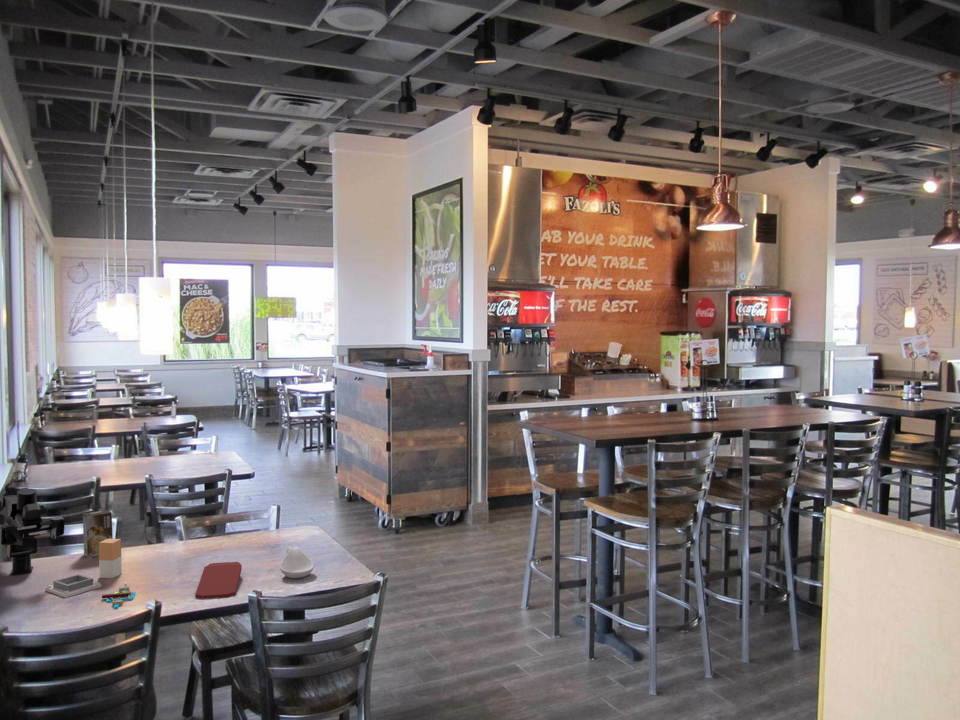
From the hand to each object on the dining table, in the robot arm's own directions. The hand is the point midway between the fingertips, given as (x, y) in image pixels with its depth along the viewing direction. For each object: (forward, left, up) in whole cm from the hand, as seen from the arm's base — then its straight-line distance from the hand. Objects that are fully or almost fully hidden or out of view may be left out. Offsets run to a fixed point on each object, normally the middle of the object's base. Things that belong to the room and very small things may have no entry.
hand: (39, 540), depth 244 cm
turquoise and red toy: (+20, +23, -17) cm, 35 cm away
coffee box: (-36, +16, -17) cm, 43 cm away
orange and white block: (-6, +21, -16) cm, 27 cm away
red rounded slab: (+20, +55, -17) cm, 61 cm away
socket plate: (+4, +10, -16) cm, 20 cm away
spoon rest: (+17, +81, -17) cm, 84 cm away
